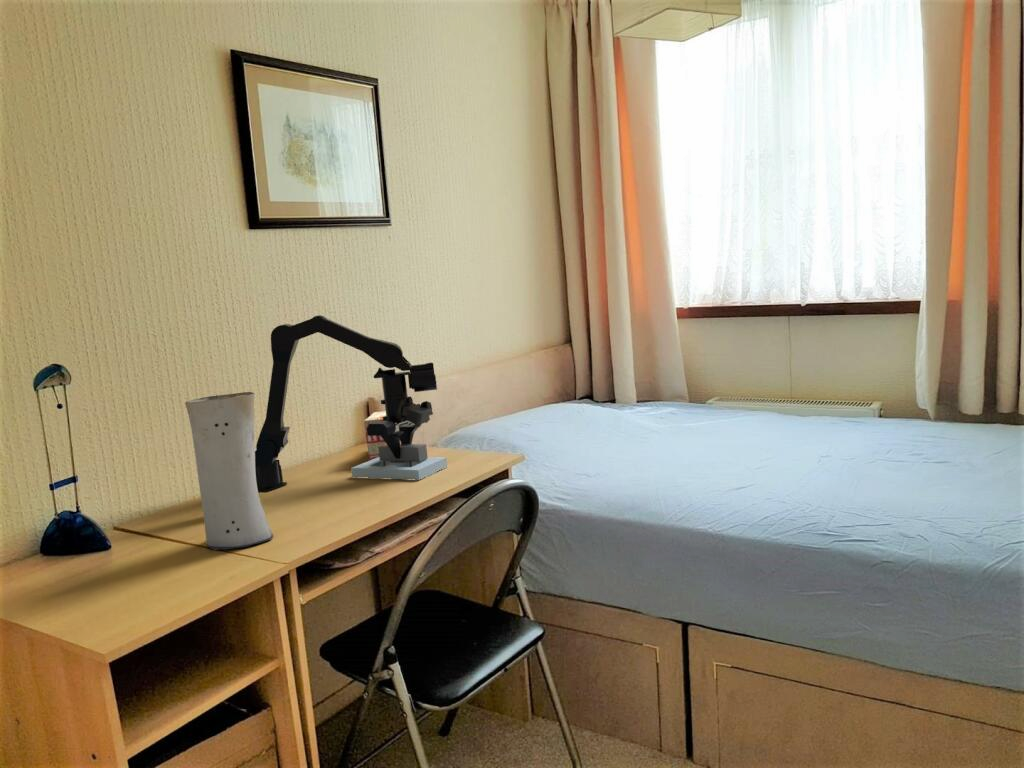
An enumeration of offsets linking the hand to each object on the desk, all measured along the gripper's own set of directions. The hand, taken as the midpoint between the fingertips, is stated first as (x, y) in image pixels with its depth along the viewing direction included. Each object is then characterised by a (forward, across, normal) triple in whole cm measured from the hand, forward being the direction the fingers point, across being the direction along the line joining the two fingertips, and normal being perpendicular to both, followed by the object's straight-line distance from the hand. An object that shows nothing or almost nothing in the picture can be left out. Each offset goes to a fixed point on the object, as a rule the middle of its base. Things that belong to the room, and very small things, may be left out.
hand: (402, 456), depth 192 cm
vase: (+4, -51, +1) cm, 51 cm away
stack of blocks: (+4, +15, +16) cm, 22 cm away
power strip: (+3, 0, 0) cm, 3 cm away
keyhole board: (+4, -2, 0) cm, 4 cm away
